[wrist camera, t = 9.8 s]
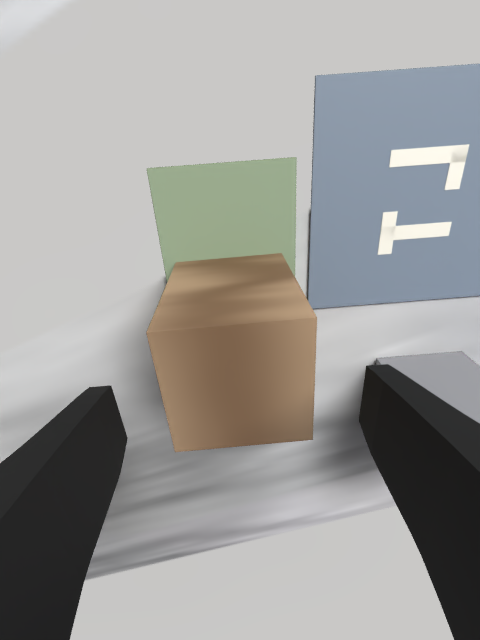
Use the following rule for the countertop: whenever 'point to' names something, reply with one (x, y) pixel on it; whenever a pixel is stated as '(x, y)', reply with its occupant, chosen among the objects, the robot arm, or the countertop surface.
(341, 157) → the blue card
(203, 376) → the walnut block
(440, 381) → the grey block
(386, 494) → the countertop surface
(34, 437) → the robot arm
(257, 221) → the rubber mat
